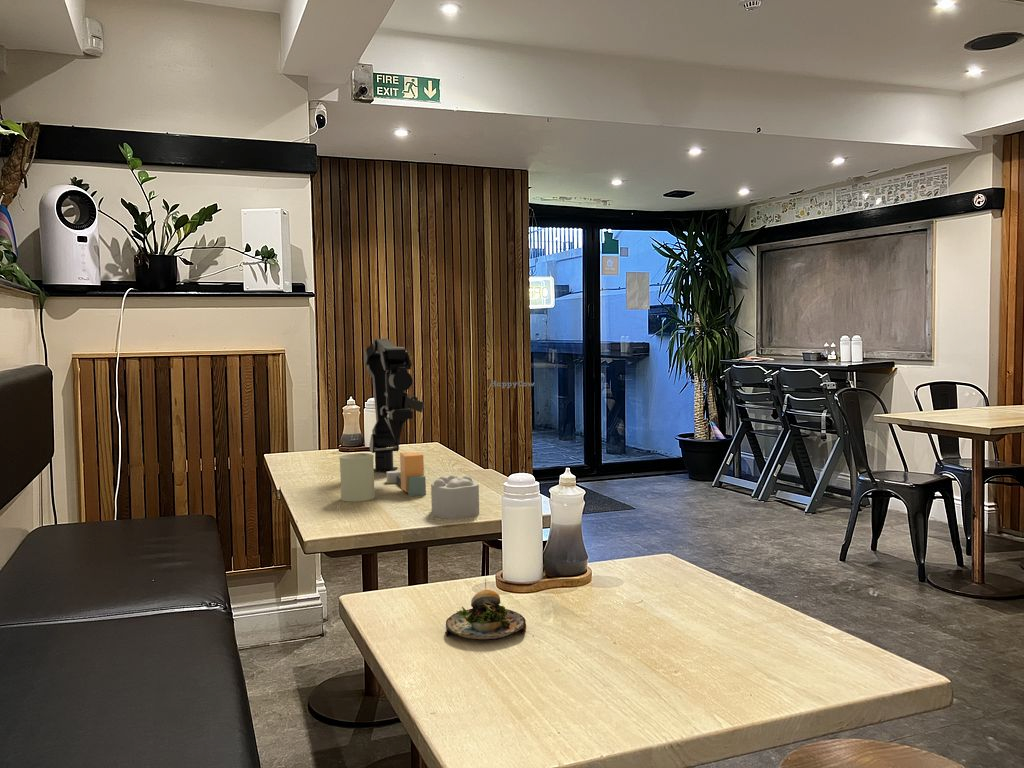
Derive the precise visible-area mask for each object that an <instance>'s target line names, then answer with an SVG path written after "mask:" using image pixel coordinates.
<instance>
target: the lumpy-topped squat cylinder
mask: <svg viewBox="0 0 1024 768" xmlns="http://www.w3.org/2000/svg"><path fill="white" fill-rule="evenodd" d="M479 489H480V486H479V483H478V482H476V481H473V478H472V477H471V476H469V475H465V476H463V477H462V478H461V477H458V476H457V475H455V474H451V475H449V476H448V477H446V476H444V475H442V476H439V478H438V479H436V480H434V481H432V482H431V484H430V490H431V491H430V495H431V514H432V515H434V516H436V517H439V518H443V519H447V520H448V519H454V520H455V519H460V518H466V517H473V516H474V517H475V516H478V515H480V493H479V492H480V490H479Z"/></svg>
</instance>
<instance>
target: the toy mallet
mask: <svg viewBox="0 0 1024 768" xmlns="http://www.w3.org/2000/svg"><path fill="white" fill-rule="evenodd" d="M385 473H386V483H388V484H395V483H396V484H398V485H399V486H401V470H392V471H388V472H385ZM426 479H427V478H426V476H425V474H424V475H419V476H408V492H407V495H408V496H409V497H416V496H426V495H427V488H426V487H427V484H426Z"/></svg>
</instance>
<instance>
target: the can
mask: <svg viewBox="0 0 1024 768" xmlns="http://www.w3.org/2000/svg"><path fill="white" fill-rule="evenodd" d="M374 458H375V454H373V453H362V452H359V453H348V454H342V455H340V456H339V458H338V459H339V469H340V470H339V471H340V473H339V475H340V500H341V501H343V502H349V503H350V502H351V503H352V502H354V503H357V502H367V501H371V500H374V499H375V498H376V493H375V474H374V473H375V471H374V469H375V467H374V466H375V459H374Z"/></svg>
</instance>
